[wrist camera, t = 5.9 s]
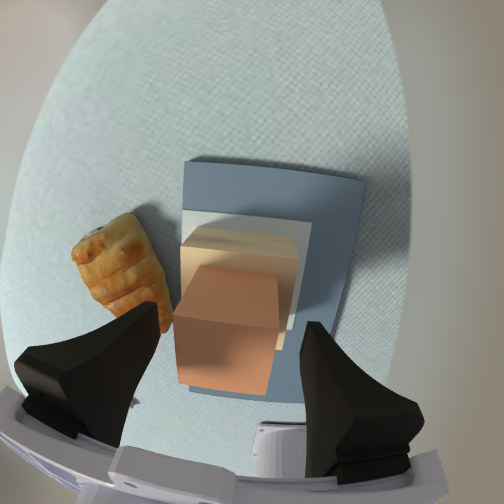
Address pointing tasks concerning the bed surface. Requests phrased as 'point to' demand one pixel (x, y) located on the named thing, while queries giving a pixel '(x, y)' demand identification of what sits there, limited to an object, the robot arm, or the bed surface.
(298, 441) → the robot arm
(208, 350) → the top block
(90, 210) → the bed surface
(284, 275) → the base block
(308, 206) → the board
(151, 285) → the pastry
